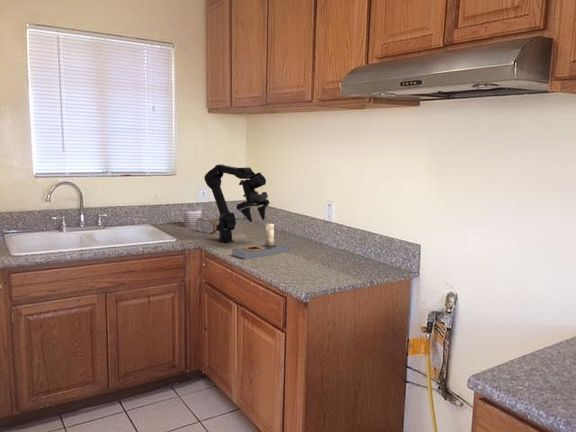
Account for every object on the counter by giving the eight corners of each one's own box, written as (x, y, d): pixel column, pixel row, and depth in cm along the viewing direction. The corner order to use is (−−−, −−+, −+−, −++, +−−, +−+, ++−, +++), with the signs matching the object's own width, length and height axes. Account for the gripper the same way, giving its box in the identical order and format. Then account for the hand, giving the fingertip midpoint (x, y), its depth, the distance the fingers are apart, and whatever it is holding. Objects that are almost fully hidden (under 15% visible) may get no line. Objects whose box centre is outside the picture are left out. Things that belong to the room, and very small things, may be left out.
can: (203, 224, 312) (202, 206, 310) (200, 228, 301) (200, 209, 299) (185, 224, 311) (184, 206, 309) (182, 228, 300) (181, 208, 298)
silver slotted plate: (244, 259, 226) (245, 252, 225) (232, 255, 233) (232, 248, 233) (289, 251, 244) (289, 244, 244) (276, 247, 252) (276, 241, 251)
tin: (217, 233, 284) (217, 219, 283) (214, 234, 282) (214, 220, 280) (198, 230, 292) (198, 217, 291) (194, 231, 290) (194, 217, 288)
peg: (263, 251, 242) (264, 224, 239) (269, 250, 245) (269, 223, 243) (270, 253, 239) (270, 225, 237) (275, 251, 242) (275, 224, 240)
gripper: (247, 187, 235) (255, 219, 234) (272, 185, 249) (280, 214, 248) (232, 194, 242) (240, 224, 241) (258, 191, 257) (265, 220, 255)
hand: (257, 220), depth 246 cm, fingers open, 9 cm apart
